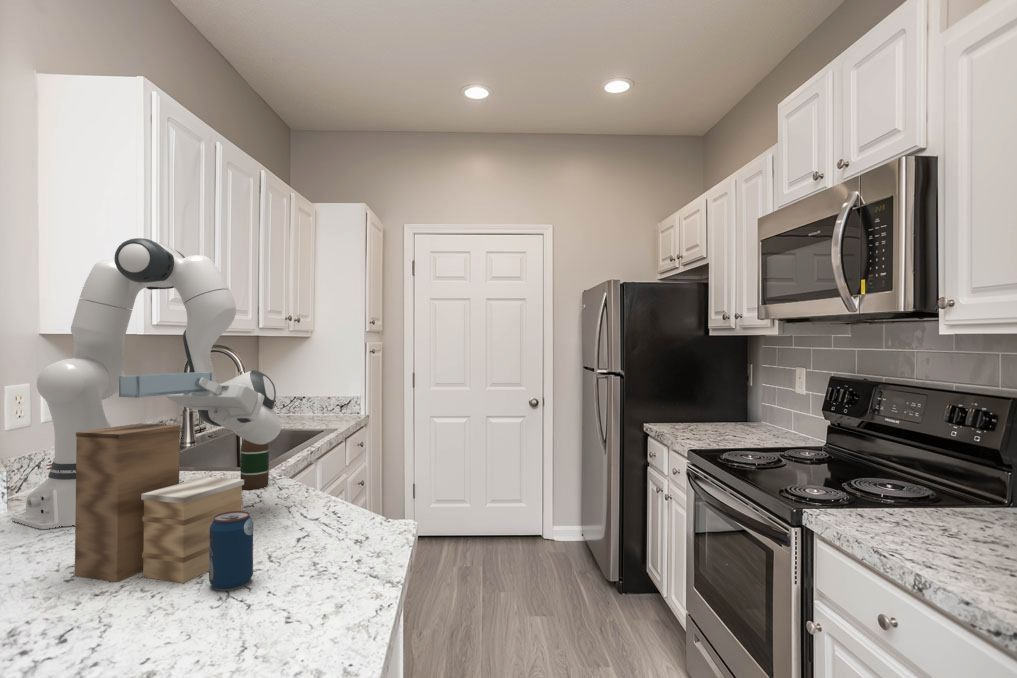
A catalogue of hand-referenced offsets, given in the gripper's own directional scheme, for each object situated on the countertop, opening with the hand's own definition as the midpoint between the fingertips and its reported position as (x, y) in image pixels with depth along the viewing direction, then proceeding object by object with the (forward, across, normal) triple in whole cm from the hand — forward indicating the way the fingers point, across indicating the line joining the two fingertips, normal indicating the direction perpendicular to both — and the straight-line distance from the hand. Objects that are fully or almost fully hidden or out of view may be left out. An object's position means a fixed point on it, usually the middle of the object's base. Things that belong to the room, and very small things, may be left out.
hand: (187, 380), depth 122 cm
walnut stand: (-6, 0, +36) cm, 37 cm away
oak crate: (-9, +12, +35) cm, 38 cm away
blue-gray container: (+3, 0, +4) cm, 5 cm away
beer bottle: (-56, -21, +8) cm, 61 cm away
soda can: (-5, +25, +37) cm, 45 cm away
